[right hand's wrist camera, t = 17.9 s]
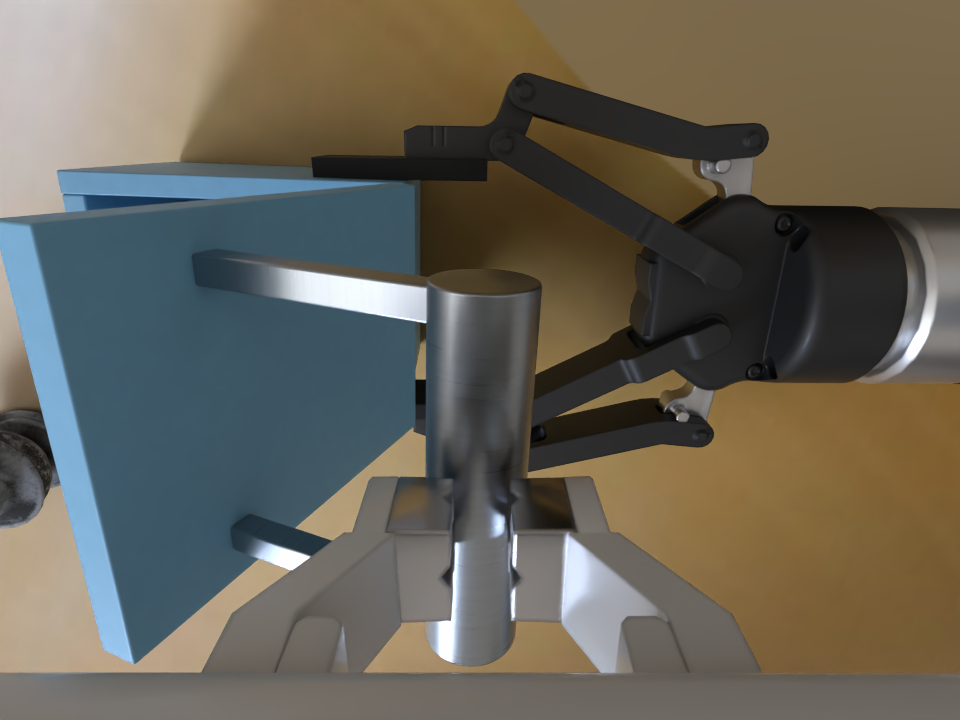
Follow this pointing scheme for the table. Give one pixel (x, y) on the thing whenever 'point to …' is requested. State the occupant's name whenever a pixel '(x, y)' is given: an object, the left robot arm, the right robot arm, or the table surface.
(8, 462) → the dark grey turned figure
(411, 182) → the chest
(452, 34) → the table surface
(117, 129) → the table surface
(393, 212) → the lid
